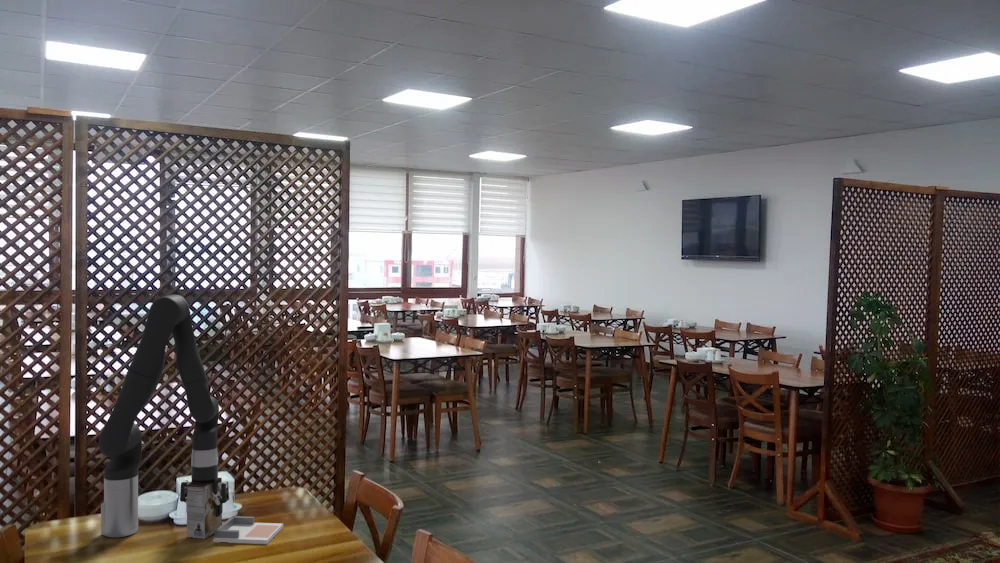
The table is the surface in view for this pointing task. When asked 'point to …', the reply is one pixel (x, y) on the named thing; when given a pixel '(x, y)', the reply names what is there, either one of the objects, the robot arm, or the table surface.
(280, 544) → the table surface
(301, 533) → the table surface
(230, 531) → the slide dock
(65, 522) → the table surface
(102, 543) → the table surface
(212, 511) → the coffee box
